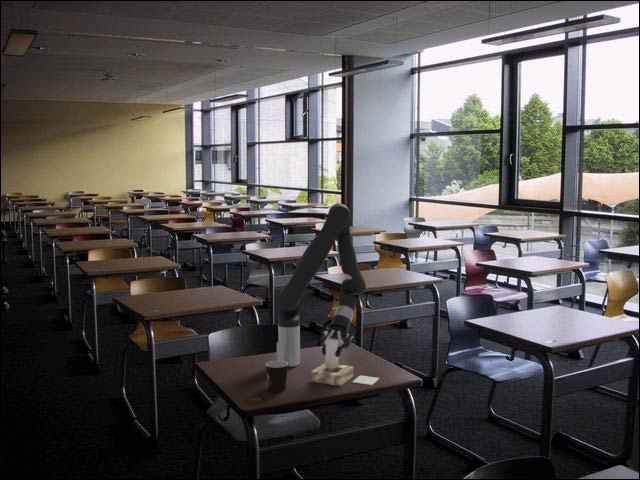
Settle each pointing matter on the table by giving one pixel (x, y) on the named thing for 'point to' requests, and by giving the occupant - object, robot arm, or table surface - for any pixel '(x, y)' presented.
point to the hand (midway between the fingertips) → (330, 354)
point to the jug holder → (332, 375)
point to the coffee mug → (277, 375)
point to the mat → (365, 380)
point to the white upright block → (331, 353)
